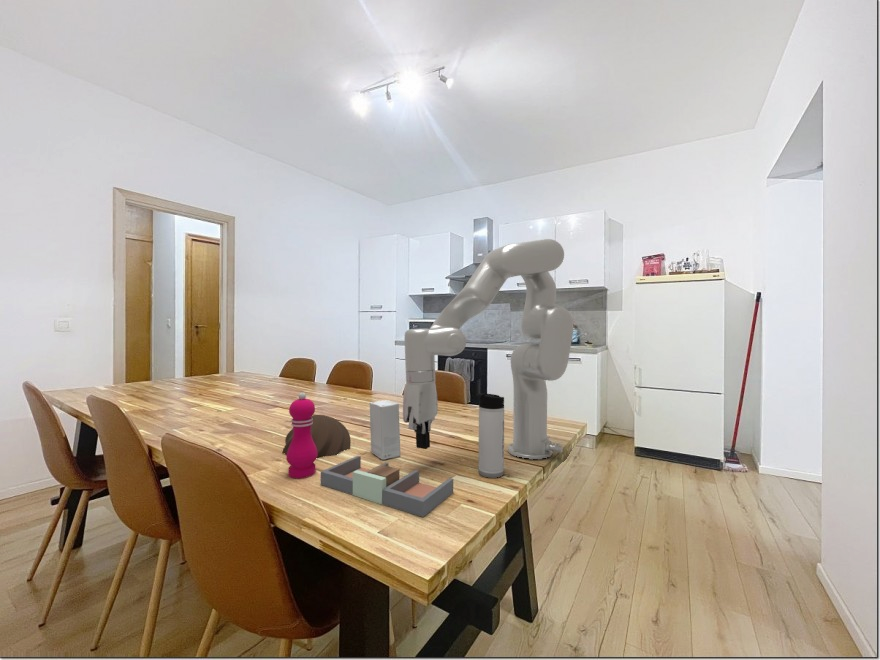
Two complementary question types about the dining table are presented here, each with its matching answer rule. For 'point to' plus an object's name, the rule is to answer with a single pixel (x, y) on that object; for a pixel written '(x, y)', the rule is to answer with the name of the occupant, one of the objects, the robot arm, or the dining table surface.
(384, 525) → the dining table surface
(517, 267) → the robot arm
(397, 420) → the skincare box
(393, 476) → the walnut block
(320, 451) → the decorative dome
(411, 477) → the bay rack
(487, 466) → the travel mug
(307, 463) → the pepper mill
